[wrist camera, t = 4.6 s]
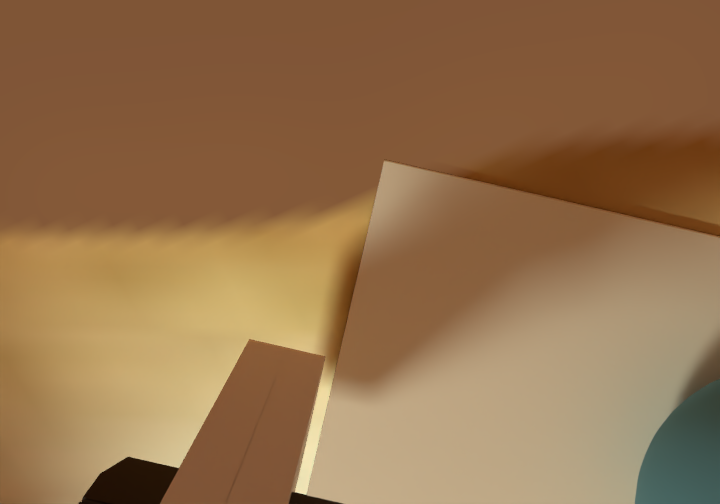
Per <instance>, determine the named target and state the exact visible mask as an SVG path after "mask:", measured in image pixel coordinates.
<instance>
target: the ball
mask: <svg viewBox="0 0 720 504" xmlns="http://www.w3.org/2000/svg"><path fill="white" fill-rule="evenodd" d="M635 504H720V379H718V380H716V381H714V382H712V383H709V384H708V385H706V386H704V387H703V388H701V389H700V390H698V391H697V392H695V393H694V394H692V395H691V396H689V397H688V398H687V399H686V400H685V401H684V402H683V403H681V404H680V405H679V406H678V407H677V408H676V409H675V410H674V411H673V412H672V413H671V414H670V415H669V416H668V418H667V419H666V420H665V421H664V423H663V424H662V425H661V426H660V428H659V429H658V431H657V432H656V434H655V435H654V437H653V439H652V441H651V443H650V445H649V447H648V449H647V452H646V454H645V456H644V459H643V462H642V465H641V468H640V471H639V475H638V480H637V488H636V496H635Z"/></svg>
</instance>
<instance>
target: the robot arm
mask: <svg viewBox="0 0 720 504" xmlns="http://www.w3.org/2000/svg"><path fill="white" fill-rule="evenodd" d="M324 361H325V356H321V355H316V354H312V353H307V352H303V351H299V350H294V349H290V348H286V347H281V346H277V345H273V344H268V343H264V342H259V341H255V340H251V339H249V341H248V343H247V345H246V347H245V348H244V350H243V352H242V354H241V356H240V358H239V359H238V361H237V363H236V365H235V367H234V369H233V370H232V372H231V374H230V376H229V378H228V380H227V381H226V383H225V385H224V387H223V389H222V391H221V392H220V394H219V396H218V398H217V400H216V402H215V403H214V405H213V407H212V409H211V411H210V413H209V414H208V416H207V418H206V420H205V422H204V424H203V425H202V427H201V429H200V431H199V433H198V435H197V436H196V438H195V440H194V442H193V444H192V446H191V447H190V449H189V451H188V453H187V455H186V457H185V459H184V460H183V462H182V464H181V466H180V468H175V467H171V466H166V465H162V464H157V463H153V462H149V461H144V460H140V459H136V458H131V457H127V458H125V459H124V460H122V461H120V462H119V463H117V464H115V465H114V466H112V467H110V468H109V469H107V470H105V471H104V472H102V473H100V475H99V476H98V477H97V479H96V480H95V482H94V483H93V484H92V486H91V487H90V488H89V490H88V491H87V493H86V494H85V495H84V497H83V500H82V502H79V504H343V503H339V502H334V501H330V500H325V499H321V498H317V497H312V496H308V495H304V494H299V493H295V488H296V484H297V480H298V476H299V472H300V467H301V463H302V458H303V454H304V449H305V445H306V441H307V436H308V432H309V427H310V423H311V418H312V414H313V410H314V405H315V401H316V396H317V392H318V387H319V383H320V379H321V374H322V370H323V365H324Z"/></svg>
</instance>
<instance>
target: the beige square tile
mask: <svg viewBox="0 0 720 504" xmlns="http://www.w3.org/2000/svg"><path fill="white" fill-rule="evenodd" d="M718 379H720V236H716V235H711V234H707V233H703V232H698V231H694V230H690V229H685V228H681V227H677V226H672V225H668V224H664V223H659V222H655V221H651V220H646V219H642V218H637V217H633V216H629V215H624V214H620V213H616V212H611V211H607V210H603V209H598V208H594V207H590V206H585V205H581V204H577V203H572V202H568V201H564V200H559V199H555V198H551V197H546V196H542V195H538V194H533V193H529V192H525V191H520V190H516V189H512V188H507V187H503V186H498V185H494V184H490V183H485V182H481V181H477V180H472V179H468V178H464V177H459V176H455V175H451V174H446V173H442V172H438V171H433V170H429V169H425V168H420V167H415V166H411V165H407V164H403V163H399V162H394V161H390V160H385V159H384V164H383V168H382V172H381V176H380V181H379V185H378V189H377V194H376V198H375V202H374V207H373V211H372V215H371V220H370V224H369V228H368V232H367V237H366V241H365V245H364V250H363V254H362V258H361V263H360V267H359V271H358V276H357V280H356V284H355V289H354V293H353V297H352V301H351V306H350V310H349V314H348V319H347V323H346V327H345V332H344V336H343V340H342V345H341V349H340V353H339V357H338V362H337V366H336V370H335V375H334V379H333V383H332V388H331V392H330V396H329V401H328V405H327V409H326V414H325V418H324V422H323V426H322V431H321V435H320V439H319V444H318V448H317V452H316V457H315V461H314V465H313V470H312V474H311V478H310V482H309V487H308V491H307V495H308V496H312V497H317V498H321V499H325V500H330V501H334V502H339V503H343V504H635V496H636V488H637V480H638V475H639V471H640V468H641V465H642V462H643V459H644V456H645V454H646V452H647V449H648V447H649V445H650V443H651V441H652V439H653V437H654V435H655V434H656V432H657V431H658V429H659V428H660V426H661V425H662V424H663V423H664V421H665V420H666V419H667V418H668V416H669V415H670V414H671V413H672V412H673V411H674V410H675V409H676V408H677V407H678V406H679V405H680V404H681V403H683V402H684V401H685V400H686V399H687V398H688V397H689V396H691V395H692V394H694V393H695V392H697V391H698V390H700V389H701V388H703V387H704V386H706V385H708V384H709V383H712V382H714V381H716V380H718Z"/></svg>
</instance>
